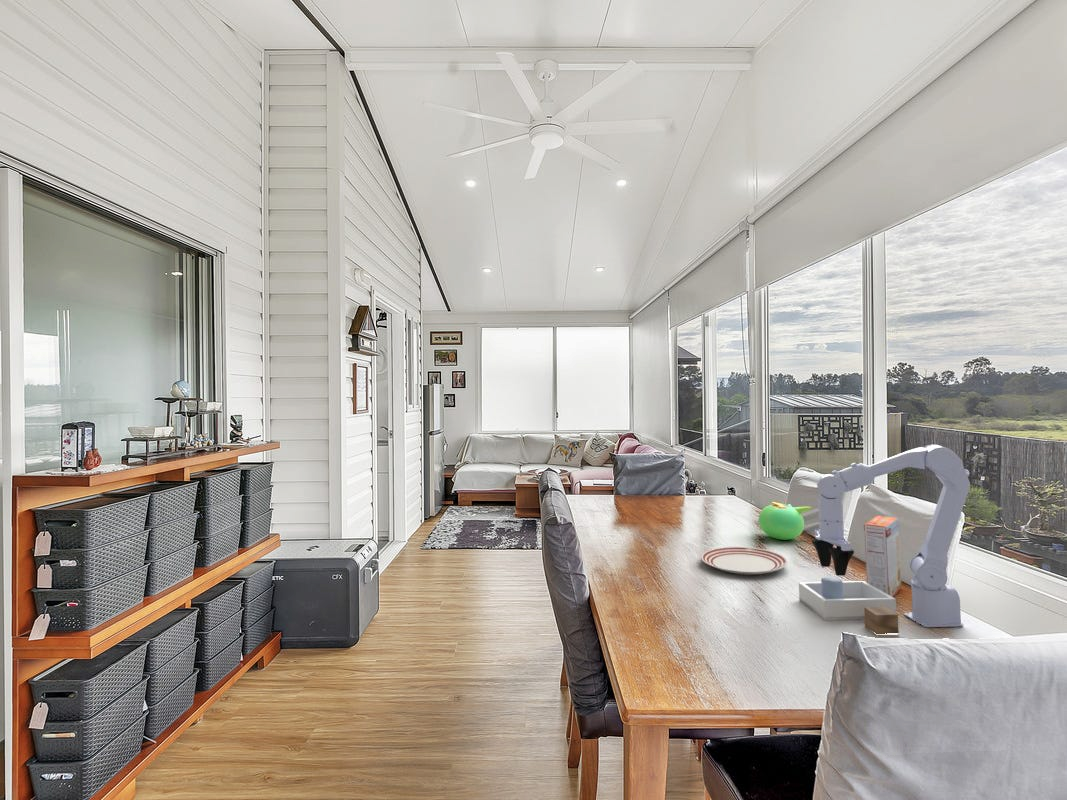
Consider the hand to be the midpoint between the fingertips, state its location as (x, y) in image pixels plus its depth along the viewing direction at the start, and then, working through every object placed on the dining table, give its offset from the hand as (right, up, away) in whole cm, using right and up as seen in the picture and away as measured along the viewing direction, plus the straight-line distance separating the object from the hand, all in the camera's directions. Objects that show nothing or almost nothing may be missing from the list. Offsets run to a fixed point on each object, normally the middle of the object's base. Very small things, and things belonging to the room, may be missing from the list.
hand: (832, 570), depth 146 cm
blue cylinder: (0, -10, 0) cm, 10 cm away
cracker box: (+21, -10, +11) cm, 25 cm away
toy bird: (+20, -10, +73) cm, 76 cm away
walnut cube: (+4, -10, -14) cm, 18 cm away
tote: (+3, -10, 0) cm, 11 cm away
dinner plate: (-9, -11, +39) cm, 42 cm away
